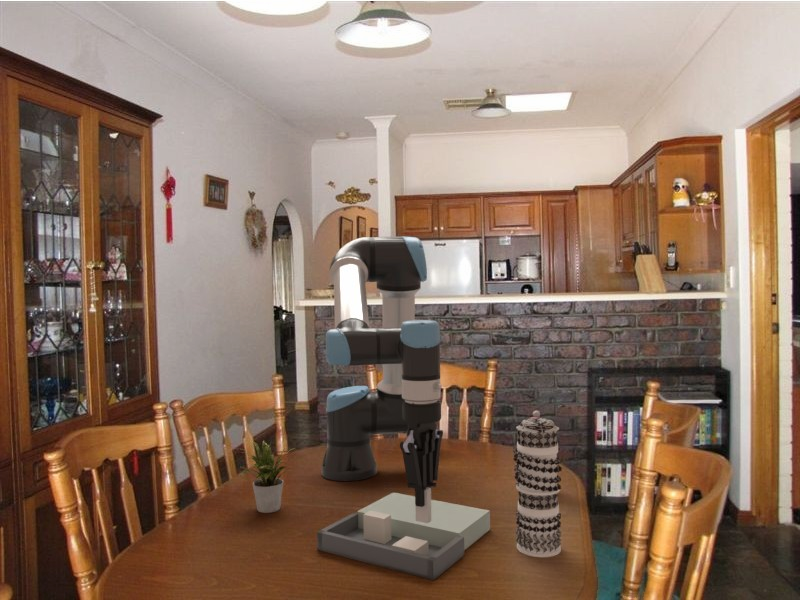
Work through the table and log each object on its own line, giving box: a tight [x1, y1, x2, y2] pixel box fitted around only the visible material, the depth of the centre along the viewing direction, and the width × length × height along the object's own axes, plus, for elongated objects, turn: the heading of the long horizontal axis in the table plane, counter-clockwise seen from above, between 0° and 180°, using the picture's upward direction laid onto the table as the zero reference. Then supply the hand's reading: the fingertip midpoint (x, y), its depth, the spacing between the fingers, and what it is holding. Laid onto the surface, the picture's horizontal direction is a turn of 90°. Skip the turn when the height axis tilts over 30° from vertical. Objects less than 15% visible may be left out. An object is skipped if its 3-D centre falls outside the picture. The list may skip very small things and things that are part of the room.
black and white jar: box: [512, 416, 563, 558], centre depth 125 cm, size 9×9×25 cm
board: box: [356, 491, 491, 551], centre depth 135 cm, size 24×14×4 cm, turn 58°
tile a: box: [363, 511, 391, 544], centre depth 129 cm, size 5×5×2 cm
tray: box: [316, 512, 465, 581], centre depth 124 cm, size 26×12×4 cm, turn 58°
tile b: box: [392, 536, 429, 556], centre depth 121 cm, size 5×5×2 cm
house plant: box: [235, 439, 295, 514], centre depth 150 cm, size 14×14×16 cm
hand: (423, 520), depth 125 cm, fingers closed
